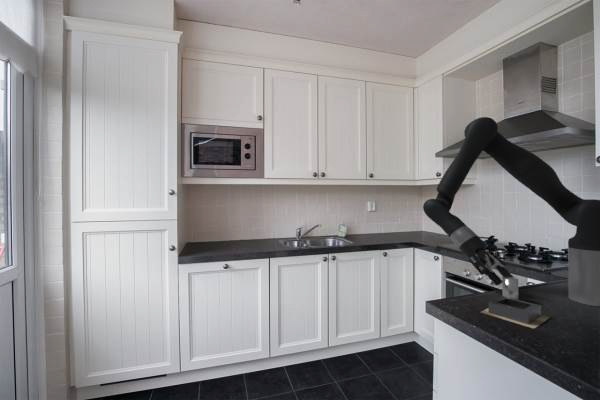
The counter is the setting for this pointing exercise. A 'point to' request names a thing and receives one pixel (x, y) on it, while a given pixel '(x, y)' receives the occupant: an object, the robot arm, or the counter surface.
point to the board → (532, 325)
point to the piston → (510, 287)
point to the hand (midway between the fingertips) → (505, 281)
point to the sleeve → (515, 309)
